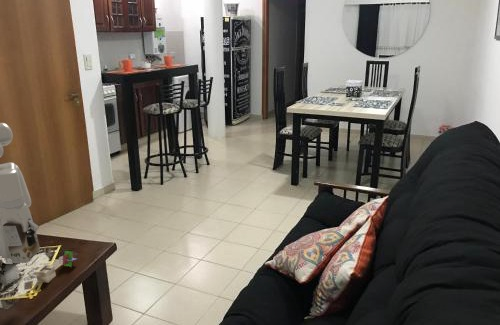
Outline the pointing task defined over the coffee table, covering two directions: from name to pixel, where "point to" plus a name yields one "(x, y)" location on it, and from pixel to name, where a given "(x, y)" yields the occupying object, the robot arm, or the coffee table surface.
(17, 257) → the coffee box
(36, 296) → the coffee table surface
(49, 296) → the coffee table surface
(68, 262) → the geometric puzzle
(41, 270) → the letter block
